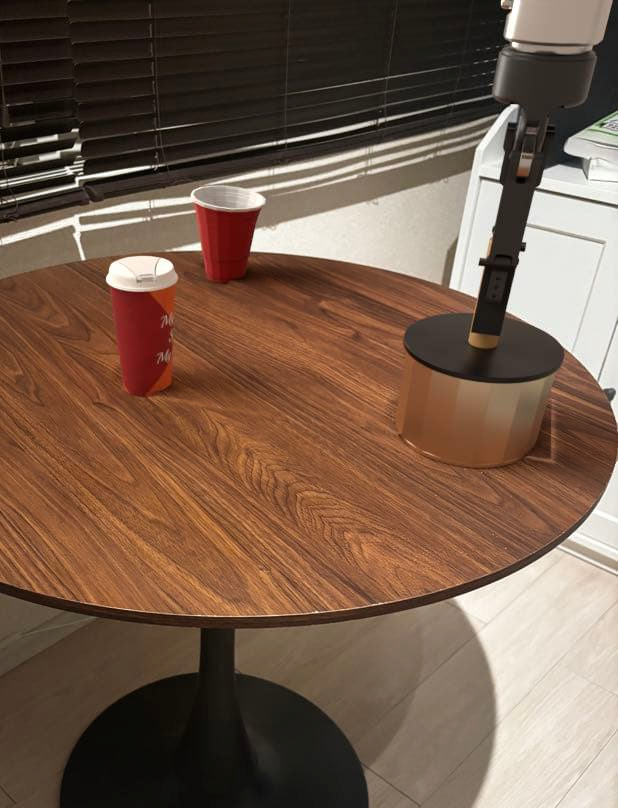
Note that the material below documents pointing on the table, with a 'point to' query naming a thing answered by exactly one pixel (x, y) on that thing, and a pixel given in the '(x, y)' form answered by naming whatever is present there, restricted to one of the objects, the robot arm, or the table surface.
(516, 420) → the pot
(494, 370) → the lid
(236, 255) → the plastic cup
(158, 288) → the paper cup
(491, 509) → the table surface
